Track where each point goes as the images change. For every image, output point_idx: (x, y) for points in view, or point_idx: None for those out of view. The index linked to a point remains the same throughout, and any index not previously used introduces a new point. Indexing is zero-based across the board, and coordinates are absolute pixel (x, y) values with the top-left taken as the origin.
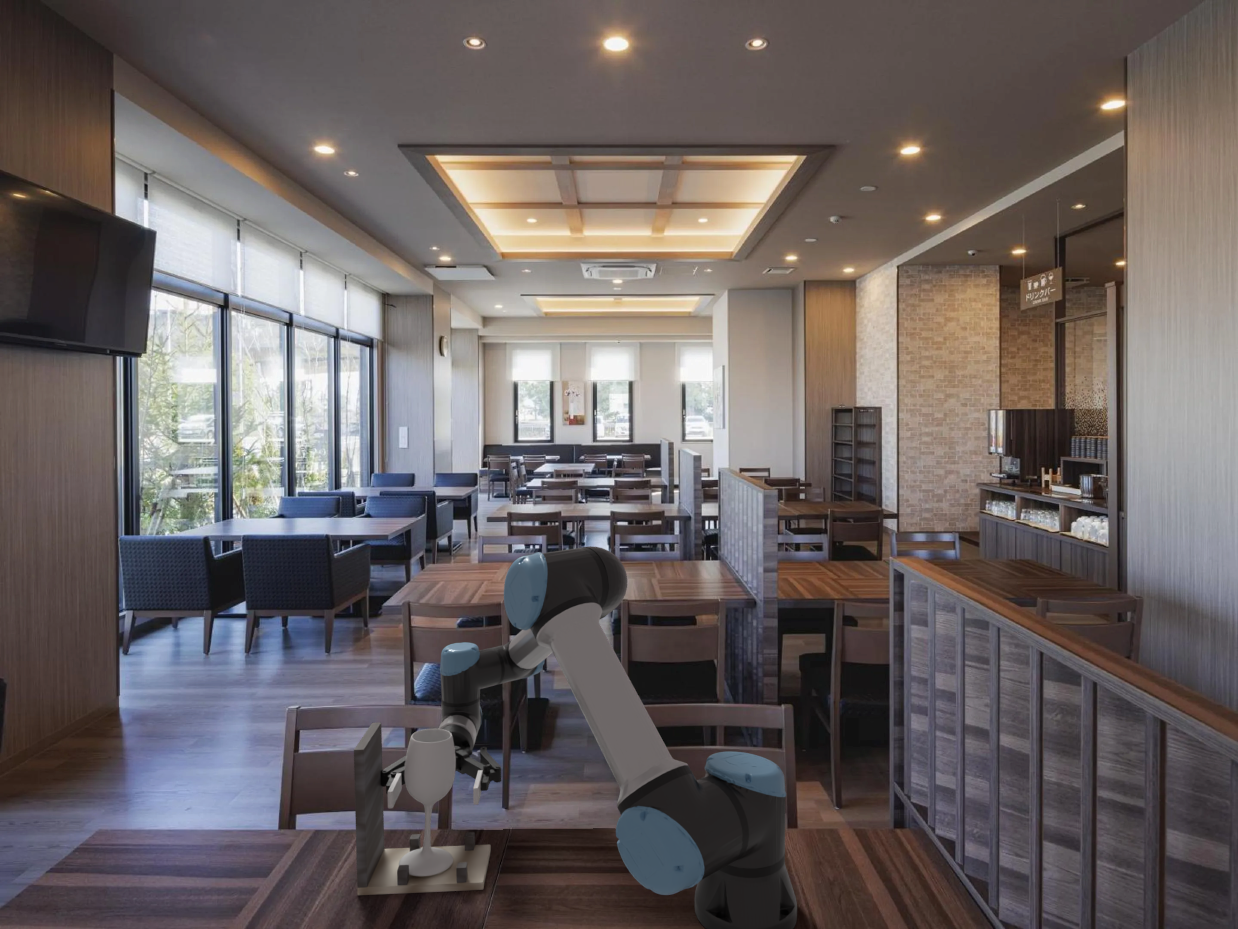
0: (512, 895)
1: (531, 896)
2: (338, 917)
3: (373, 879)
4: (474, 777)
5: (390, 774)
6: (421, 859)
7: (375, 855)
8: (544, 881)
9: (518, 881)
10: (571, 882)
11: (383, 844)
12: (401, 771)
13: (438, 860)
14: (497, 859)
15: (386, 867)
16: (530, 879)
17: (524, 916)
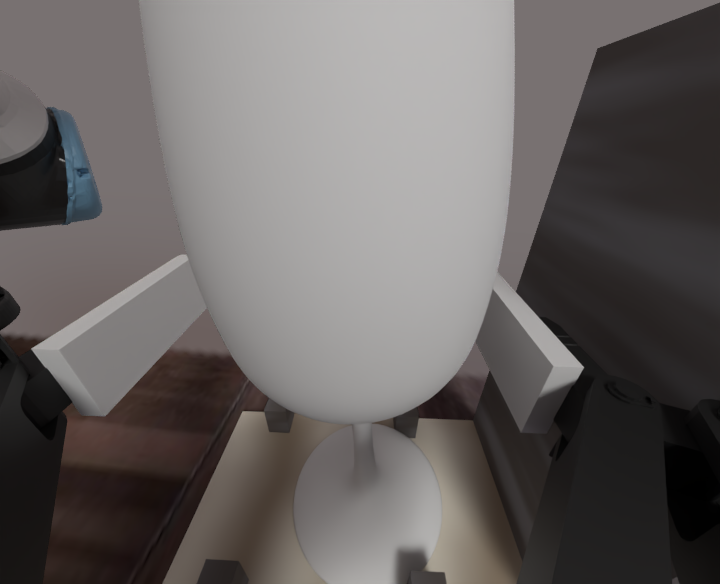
0: (200, 400)
1: (170, 395)
2: (483, 380)
3: (475, 445)
4: (49, 501)
5: (663, 423)
6: (375, 456)
7: (509, 479)
8: (115, 434)
9: (165, 440)
10: (68, 425)
11: None
12: (588, 408)
13: (331, 461)
14: (158, 559)
15: (471, 496)
16: (137, 444)
17: (206, 357)
